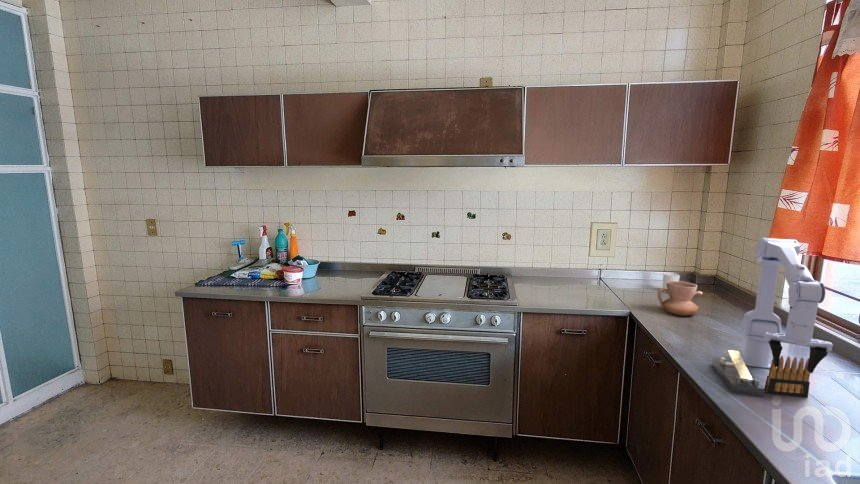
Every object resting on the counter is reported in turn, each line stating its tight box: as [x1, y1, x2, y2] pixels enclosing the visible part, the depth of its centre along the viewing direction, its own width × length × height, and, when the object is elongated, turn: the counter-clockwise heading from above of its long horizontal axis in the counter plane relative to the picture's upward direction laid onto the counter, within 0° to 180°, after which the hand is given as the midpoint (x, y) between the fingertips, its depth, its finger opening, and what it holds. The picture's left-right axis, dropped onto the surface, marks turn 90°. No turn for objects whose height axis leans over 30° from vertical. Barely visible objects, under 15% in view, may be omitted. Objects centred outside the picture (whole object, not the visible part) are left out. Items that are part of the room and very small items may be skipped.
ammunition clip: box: [763, 355, 811, 399], centre depth 125 cm, size 11×2×12 cm, turn 80°
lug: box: [719, 356, 734, 367], centre depth 139 cm, size 2×6×2 cm, turn 72°
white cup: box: [662, 272, 681, 289], centre depth 232 cm, size 8×8×10 cm
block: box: [711, 357, 765, 398], centre depth 134 cm, size 19×8×4 cm, turn 161°
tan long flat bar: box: [727, 349, 753, 384], centre depth 132 cm, size 15×3×1 cm, turn 161°
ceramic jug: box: [657, 280, 703, 317], centre depth 197 cm, size 18×14×14 cm
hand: (792, 368), depth 121 cm, fingers open, 7 cm apart
